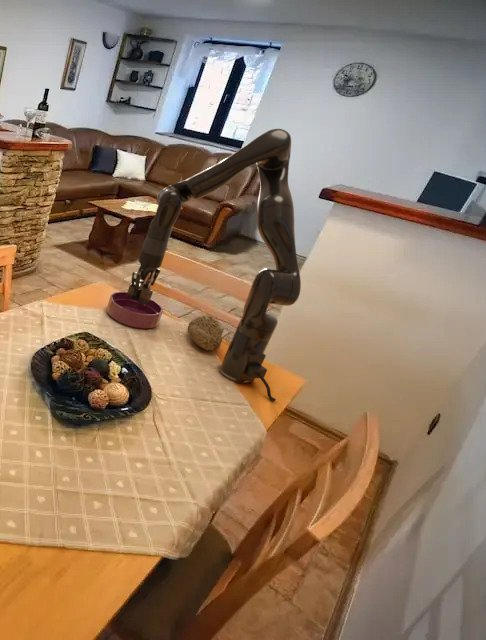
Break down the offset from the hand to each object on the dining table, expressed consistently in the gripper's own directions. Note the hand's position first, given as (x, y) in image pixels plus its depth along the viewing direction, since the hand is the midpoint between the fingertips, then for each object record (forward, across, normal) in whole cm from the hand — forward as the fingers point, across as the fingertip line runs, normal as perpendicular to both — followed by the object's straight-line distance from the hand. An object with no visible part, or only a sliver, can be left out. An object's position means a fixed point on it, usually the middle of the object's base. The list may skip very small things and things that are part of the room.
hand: (138, 298), depth 171 cm
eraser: (0, 0, 0) cm, 0 cm away
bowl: (+7, 0, 0) cm, 7 cm away
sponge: (+7, -9, +23) cm, 26 cm away
